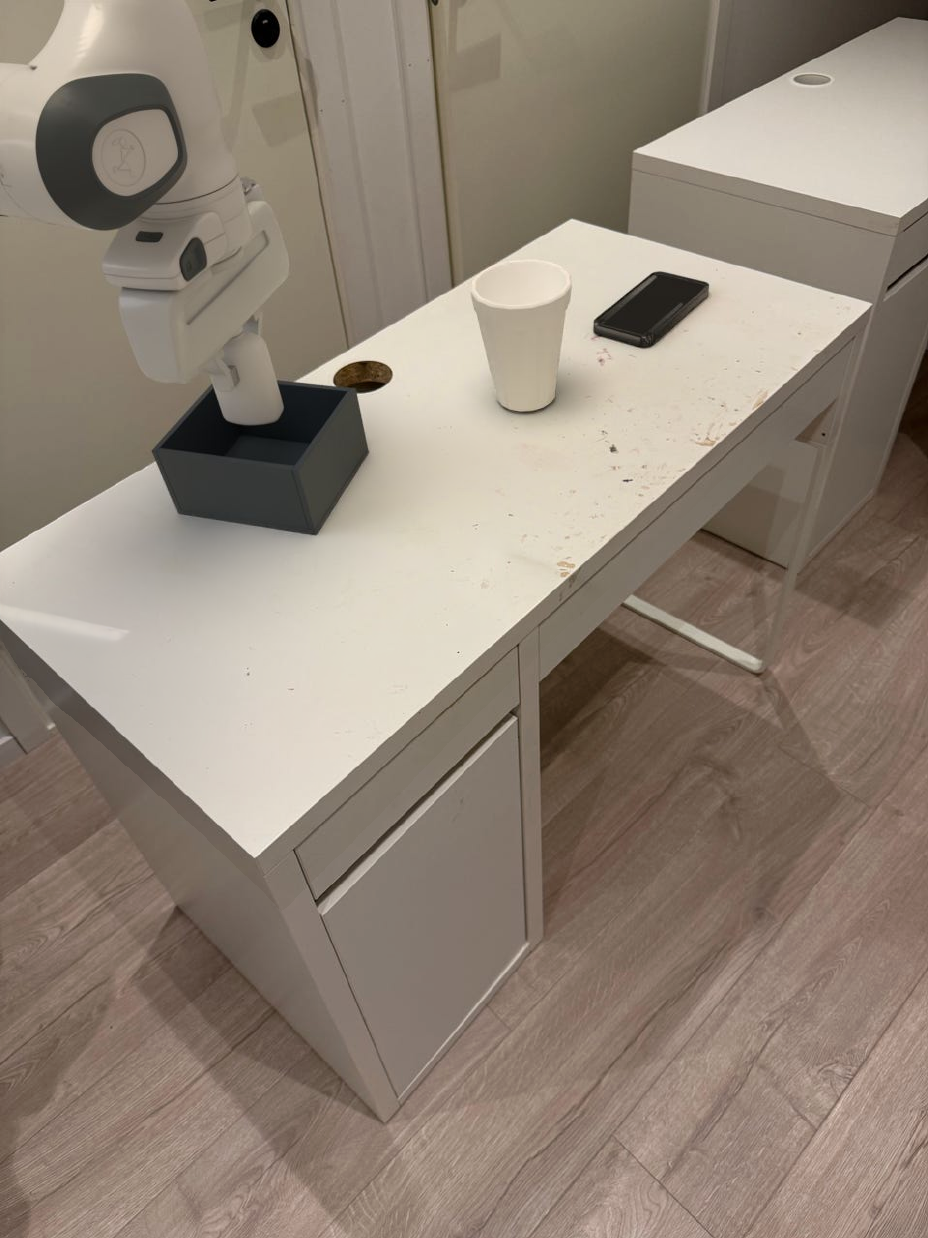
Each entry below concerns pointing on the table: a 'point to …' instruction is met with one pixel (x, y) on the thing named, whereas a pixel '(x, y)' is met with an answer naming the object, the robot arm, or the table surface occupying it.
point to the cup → (522, 328)
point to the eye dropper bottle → (250, 382)
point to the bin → (266, 459)
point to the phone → (651, 308)
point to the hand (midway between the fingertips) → (240, 372)
